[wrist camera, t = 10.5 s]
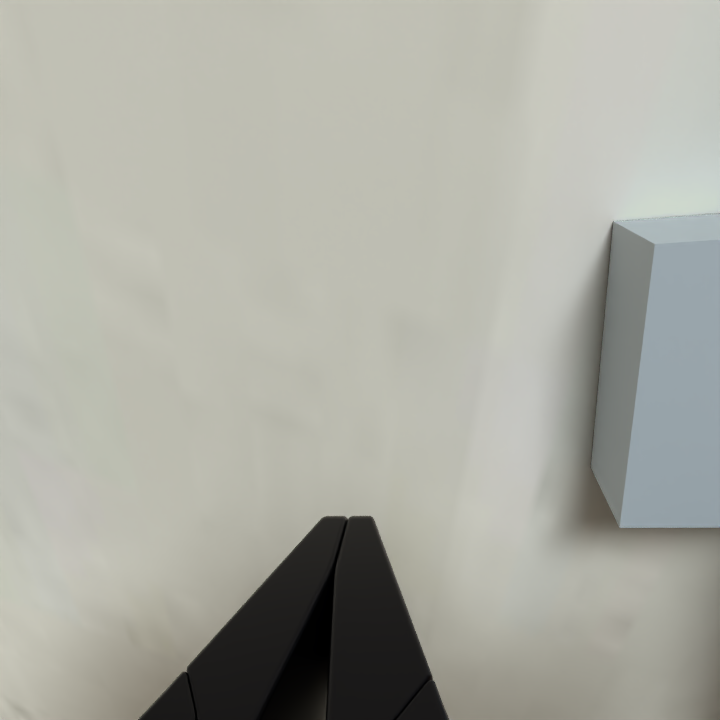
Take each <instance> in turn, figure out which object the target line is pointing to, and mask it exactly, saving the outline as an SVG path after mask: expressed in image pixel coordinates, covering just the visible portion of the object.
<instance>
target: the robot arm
mask: <svg viewBox="0 0 720 720" xmlns="http://www.w3.org/2000/svg"><path fill="white" fill-rule="evenodd" d="M138 720H449V718H448V715H447V713H446V711H445V708H444V706H443V703H442V700H441V698H440V695H439V692H438V690H437V687H436V684H435V682H434V681H433V678H432V674H431V671H430V669H429V666H428V663H427V661H426V658H425V655H424V653H423V650H422V647H421V645H420V642H419V639H418V637H417V634H416V631H415V628H414V626H413V623H412V620H411V618H410V615H409V612H408V610H407V607H406V604H405V602H404V599H403V596H402V594H401V591H400V588H399V585H398V583H397V580H396V577H395V575H394V572H393V569H392V567H391V564H390V561H389V559H388V556H387V553H386V550H385V548H384V545H383V542H382V540H381V537H380V534H379V532H378V529H377V526H376V524H375V521H374V519H373V517H371V516H351V517H350V518H349V519H348V518H347V517H345V516H326V517H323V518H322V519H321V520H320V521H319V522H318V523H317V524H316V525H315V526H314V527H313V529H312V530H311V531H310V532H309V533H308V534H307V535H306V536H305V537H304V539H303V540H302V541H301V542H300V543H299V544H298V545H297V546H296V547H295V548H294V550H293V551H292V552H291V553H290V554H289V555H288V556H287V557H286V558H285V560H284V561H283V562H282V563H281V564H280V565H279V566H278V567H277V568H276V569H275V571H274V572H273V573H272V574H271V575H270V576H269V577H268V578H267V579H266V581H265V582H264V583H263V584H262V585H261V586H260V587H259V588H258V589H257V590H256V592H255V593H254V594H253V595H252V596H251V597H250V598H249V599H248V600H247V602H246V603H245V604H244V605H243V606H242V607H241V608H240V609H239V610H238V611H237V613H236V614H235V615H234V616H233V617H232V618H231V619H230V620H229V621H228V623H227V624H226V625H225V626H224V627H223V628H222V629H221V630H220V631H219V632H218V634H217V635H216V636H215V637H214V638H213V639H212V640H211V641H210V642H209V644H208V645H207V646H206V647H205V648H204V649H203V650H202V651H201V652H200V653H199V655H198V656H197V657H196V658H195V659H194V660H193V661H192V662H191V663H190V665H189V666H188V667H187V672H182V673H181V674H180V675H179V676H178V677H177V679H176V680H175V681H174V682H173V683H172V684H171V685H170V686H169V687H168V689H167V690H166V691H165V692H164V693H163V694H162V695H161V696H160V697H159V698H158V699H157V700H156V701H155V702H154V703H153V705H152V706H151V707H150V708H149V709H148V710H147V711H146V712H145V713H144V714H143V715H142V716H141V717H140V718H139V719H138Z"/></svg>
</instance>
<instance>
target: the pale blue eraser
mask: <svg viewBox="0 0 720 720" xmlns="http://www.w3.org/2000/svg"><path fill="white" fill-rule="evenodd" d="M591 469H592V471H593V473H594V476H595V478H596V480H597V482H598V484H599V486H600V488H601V490H602V492H603V494H604V496H605V498H606V501H607V503H608V505H609V507H610V509H611V511H612V513H613V515H614V517H615V519H616V521H617V523H618V526H619V528H720V213H718V214H704V215H691V216H678V217H665V218H652V219H638V220H625V221H613V231H612V242H611V252H610V263H609V274H608V285H607V296H606V307H605V318H604V329H603V340H602V351H601V361H600V372H599V383H598V394H597V405H596V416H595V427H594V438H593V449H592V460H591Z"/></svg>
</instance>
